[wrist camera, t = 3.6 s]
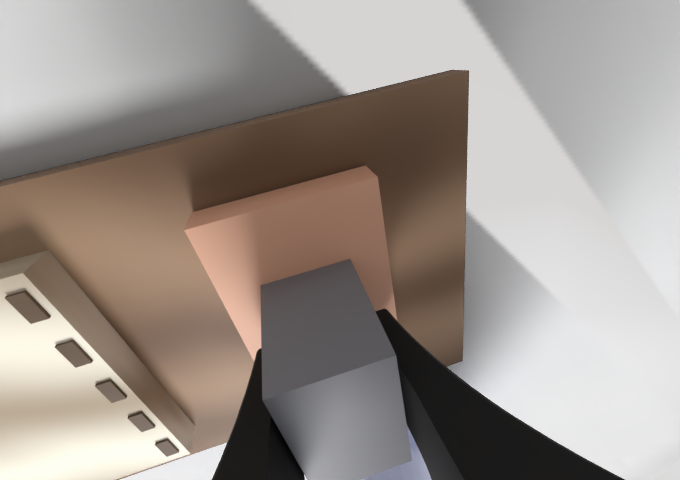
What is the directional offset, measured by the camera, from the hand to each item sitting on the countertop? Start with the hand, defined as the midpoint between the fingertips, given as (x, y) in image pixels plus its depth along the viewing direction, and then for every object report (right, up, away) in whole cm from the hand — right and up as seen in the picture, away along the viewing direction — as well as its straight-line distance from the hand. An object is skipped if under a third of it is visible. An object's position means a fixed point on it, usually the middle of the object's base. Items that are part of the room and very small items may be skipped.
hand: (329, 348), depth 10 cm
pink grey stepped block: (-1, +1, +2) cm, 2 cm away
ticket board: (-7, 0, +2) cm, 7 cm away
